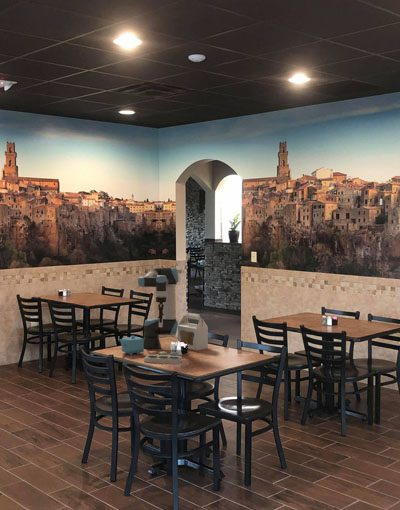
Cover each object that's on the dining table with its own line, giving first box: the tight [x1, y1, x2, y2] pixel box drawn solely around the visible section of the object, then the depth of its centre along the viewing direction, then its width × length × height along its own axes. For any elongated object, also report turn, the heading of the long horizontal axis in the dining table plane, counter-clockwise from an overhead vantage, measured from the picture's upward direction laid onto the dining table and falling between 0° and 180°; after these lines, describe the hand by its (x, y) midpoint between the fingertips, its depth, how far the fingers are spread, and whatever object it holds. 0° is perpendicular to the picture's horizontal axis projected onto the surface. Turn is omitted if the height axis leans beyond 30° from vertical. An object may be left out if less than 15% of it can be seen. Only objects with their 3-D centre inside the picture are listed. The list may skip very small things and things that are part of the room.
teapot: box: [117, 335, 145, 356], centre depth 490 cm, size 22×11×14 cm, turn 123°
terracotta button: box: [147, 350, 158, 355], centre depth 466 cm, size 6×6×2 cm
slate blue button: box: [169, 351, 179, 356], centre depth 464 cm, size 6×6×2 cm
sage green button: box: [158, 351, 168, 356], centre depth 465 cm, size 6×6×2 cm
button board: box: [143, 354, 183, 365], centre depth 465 cm, size 12×25×3 cm, turn 80°
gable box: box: [177, 311, 209, 351], centre depth 520 cm, size 22×13×28 cm, turn 46°
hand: (160, 325), depth 468 cm, fingers open, 13 cm apart
